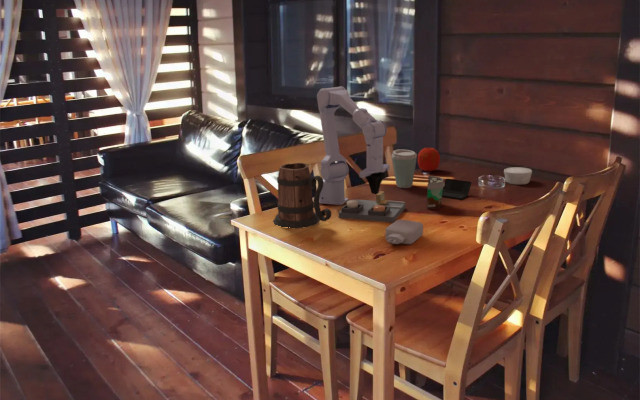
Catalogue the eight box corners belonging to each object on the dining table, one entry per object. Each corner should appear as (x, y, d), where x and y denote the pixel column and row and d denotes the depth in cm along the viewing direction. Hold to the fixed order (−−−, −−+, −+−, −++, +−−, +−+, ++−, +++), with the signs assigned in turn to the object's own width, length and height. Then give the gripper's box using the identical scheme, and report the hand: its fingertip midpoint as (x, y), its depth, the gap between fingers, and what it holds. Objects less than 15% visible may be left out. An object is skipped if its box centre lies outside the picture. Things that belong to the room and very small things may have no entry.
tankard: (262, 223, 208) (259, 167, 202) (293, 210, 220) (291, 158, 215) (314, 235, 194) (312, 176, 188) (344, 221, 206) (343, 166, 200)
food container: (444, 210, 214) (445, 184, 211) (427, 210, 215) (427, 183, 212) (444, 200, 226) (444, 175, 223) (427, 200, 227) (428, 175, 224)
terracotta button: (372, 213, 207) (372, 208, 206) (375, 210, 210) (375, 204, 210) (383, 214, 205) (383, 209, 205) (386, 211, 209) (386, 205, 208)
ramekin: (497, 181, 251) (498, 169, 249) (517, 177, 255) (518, 165, 254) (516, 187, 241) (517, 174, 240) (537, 183, 245) (538, 171, 244)
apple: (417, 173, 268) (417, 148, 264) (417, 168, 277) (417, 144, 274) (439, 173, 266) (440, 148, 263) (439, 168, 275) (439, 144, 272)
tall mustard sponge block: (376, 205, 215) (376, 194, 214) (380, 201, 220) (380, 191, 219) (384, 205, 214) (384, 195, 213) (388, 202, 219) (388, 191, 218)
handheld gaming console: (434, 194, 230) (442, 171, 232) (437, 200, 236) (445, 178, 238) (463, 201, 225) (471, 178, 227) (465, 207, 231) (473, 185, 234)
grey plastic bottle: (377, 247, 182) (396, 232, 195) (404, 252, 178) (422, 236, 190) (377, 232, 181) (396, 218, 193) (405, 237, 176) (423, 222, 189)
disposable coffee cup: (420, 184, 249) (421, 149, 245) (410, 190, 240) (410, 155, 236) (398, 181, 255) (398, 147, 250) (387, 187, 246) (387, 152, 242)
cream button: (345, 208, 210) (345, 202, 209) (348, 204, 213) (348, 199, 213) (355, 209, 208) (355, 203, 208) (359, 205, 212) (359, 200, 211)
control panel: (338, 217, 210) (338, 208, 209) (354, 204, 225) (353, 195, 224) (393, 222, 203) (393, 213, 202) (405, 208, 218) (405, 199, 217)
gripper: (370, 161, 198) (370, 200, 202) (396, 153, 207) (396, 190, 211) (354, 158, 202) (354, 196, 206) (380, 151, 212) (380, 187, 216)
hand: (374, 193), depth 209 cm, fingers closed
